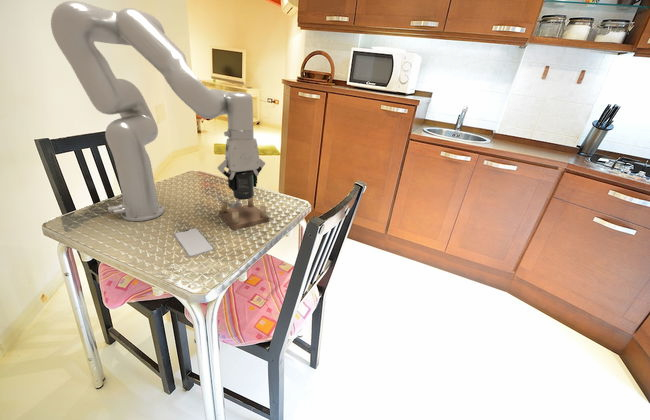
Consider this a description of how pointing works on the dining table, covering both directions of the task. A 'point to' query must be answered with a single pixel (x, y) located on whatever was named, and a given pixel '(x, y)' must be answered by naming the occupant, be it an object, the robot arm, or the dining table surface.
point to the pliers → (231, 203)
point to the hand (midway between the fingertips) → (243, 187)
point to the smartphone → (193, 242)
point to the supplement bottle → (244, 185)
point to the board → (243, 215)
